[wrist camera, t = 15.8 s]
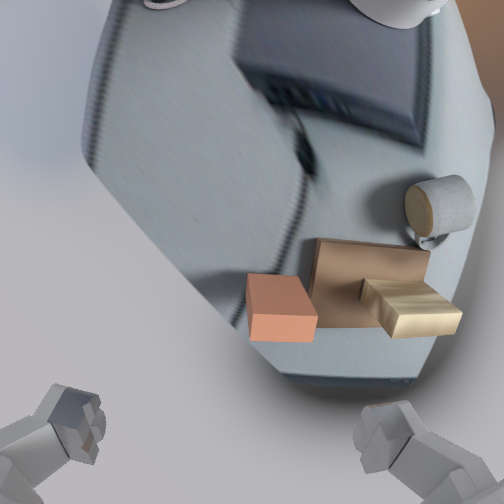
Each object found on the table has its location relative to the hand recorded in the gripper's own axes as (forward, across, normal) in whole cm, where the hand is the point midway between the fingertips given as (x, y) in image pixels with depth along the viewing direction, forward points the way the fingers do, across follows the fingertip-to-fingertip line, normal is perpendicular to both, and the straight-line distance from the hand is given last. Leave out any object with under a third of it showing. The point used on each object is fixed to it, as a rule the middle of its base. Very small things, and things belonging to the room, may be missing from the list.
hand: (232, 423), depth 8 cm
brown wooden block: (+31, -20, +8) cm, 38 cm away
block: (+29, -5, +8) cm, 30 cm away
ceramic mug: (+32, -27, -4) cm, 42 cm away
